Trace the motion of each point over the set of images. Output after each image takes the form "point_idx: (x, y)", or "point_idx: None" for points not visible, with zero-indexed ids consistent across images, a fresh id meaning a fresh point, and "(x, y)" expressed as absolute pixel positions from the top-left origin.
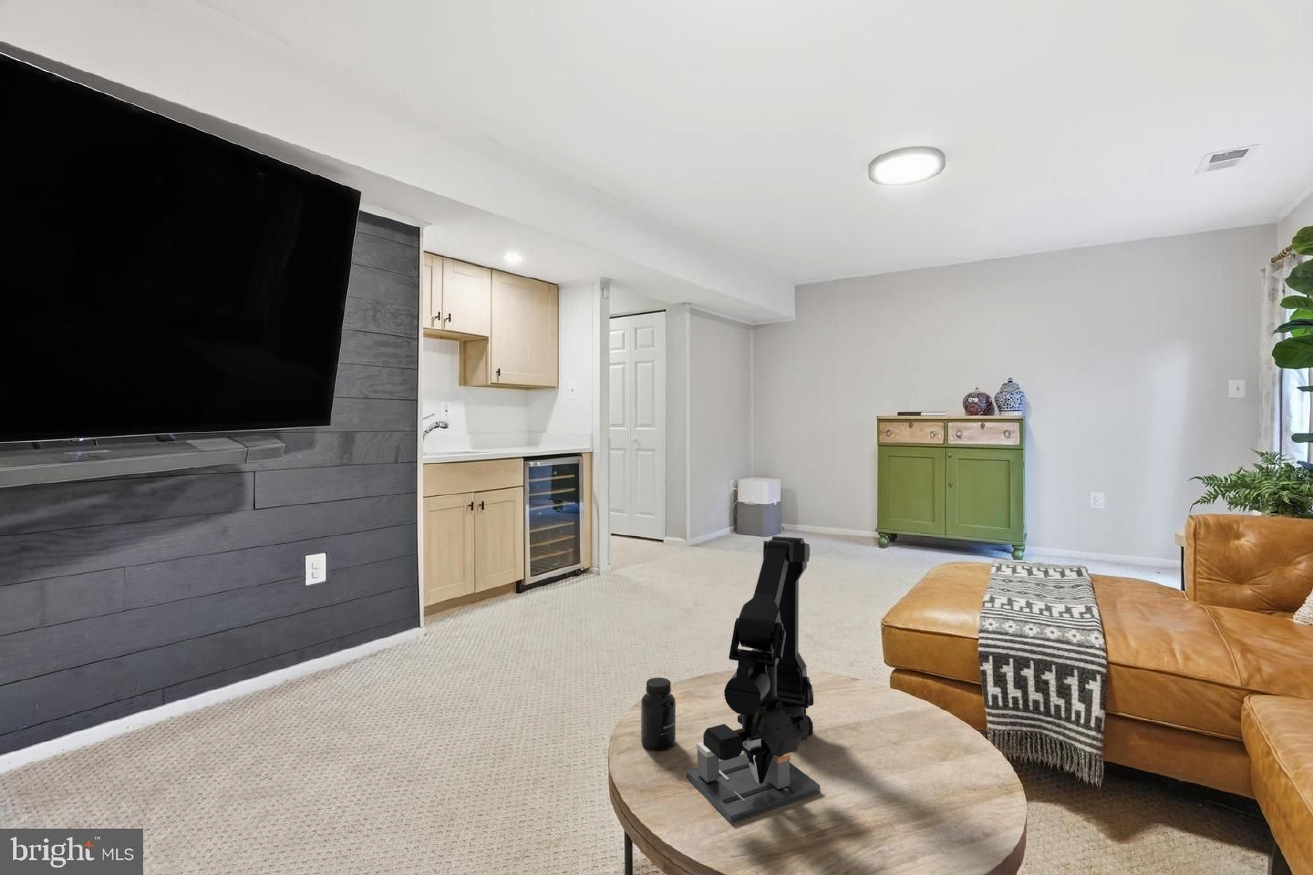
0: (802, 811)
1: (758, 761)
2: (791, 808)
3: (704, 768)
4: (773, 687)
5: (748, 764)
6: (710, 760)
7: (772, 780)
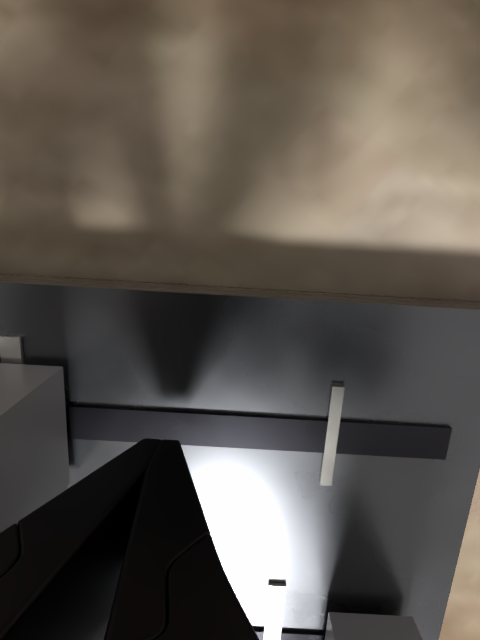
0: (30, 169)
1: (190, 602)
2: (76, 230)
3: None
4: None
5: None
6: None
7: (54, 437)
